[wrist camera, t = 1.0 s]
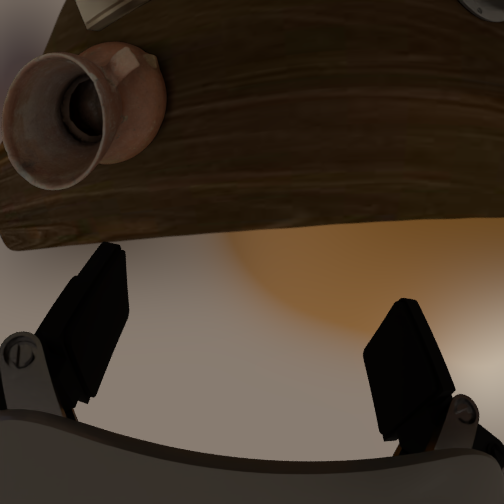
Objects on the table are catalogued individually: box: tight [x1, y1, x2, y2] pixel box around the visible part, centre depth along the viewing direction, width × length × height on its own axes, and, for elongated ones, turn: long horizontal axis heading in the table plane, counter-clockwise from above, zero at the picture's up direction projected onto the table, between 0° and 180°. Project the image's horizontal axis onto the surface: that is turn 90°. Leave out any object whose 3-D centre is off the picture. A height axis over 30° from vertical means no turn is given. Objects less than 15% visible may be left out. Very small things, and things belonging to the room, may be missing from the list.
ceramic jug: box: [2, 42, 167, 190], centre depth 25 cm, size 18×14×14 cm
